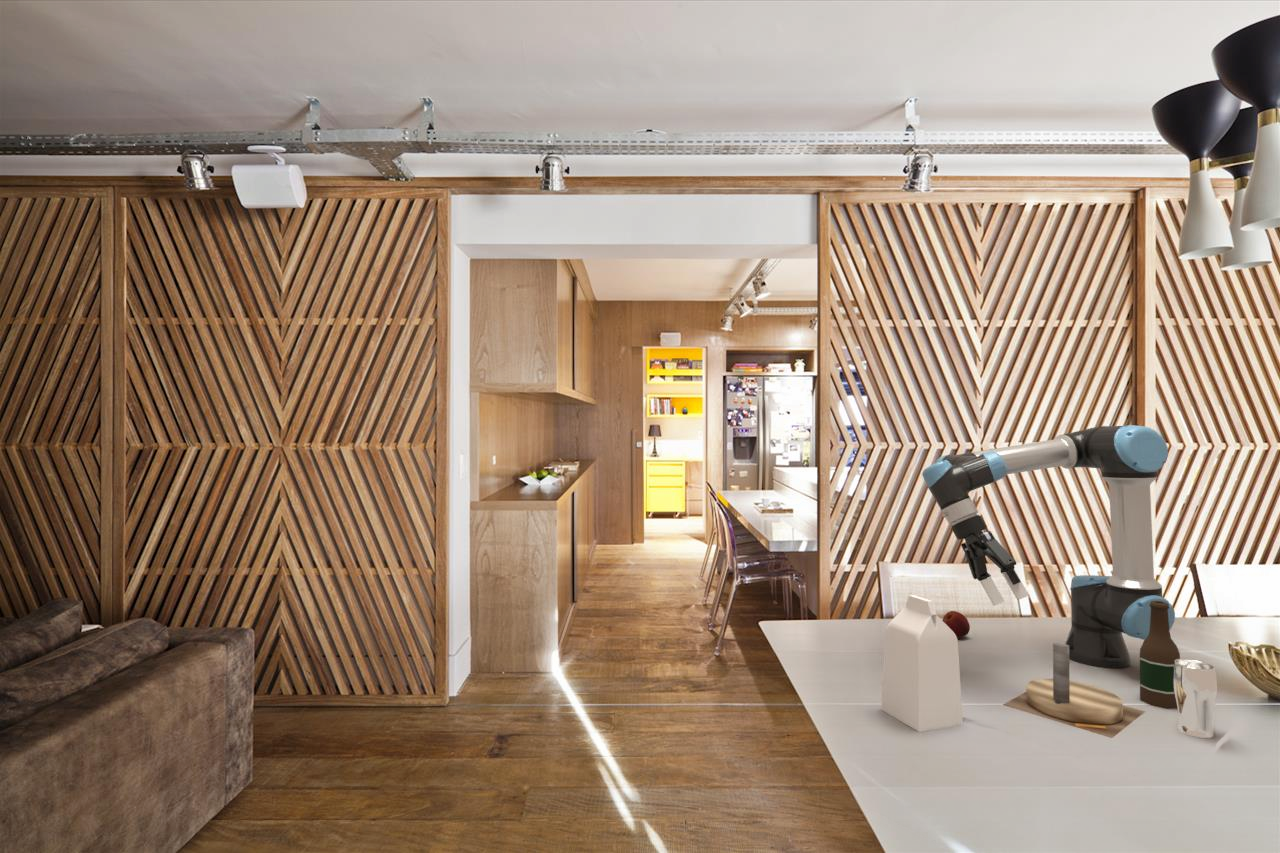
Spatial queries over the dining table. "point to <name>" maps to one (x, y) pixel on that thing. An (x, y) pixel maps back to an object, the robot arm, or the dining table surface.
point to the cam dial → (1072, 695)
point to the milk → (921, 669)
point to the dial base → (1103, 729)
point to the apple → (957, 623)
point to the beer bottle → (1158, 660)
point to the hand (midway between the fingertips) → (1010, 601)
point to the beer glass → (1195, 696)
